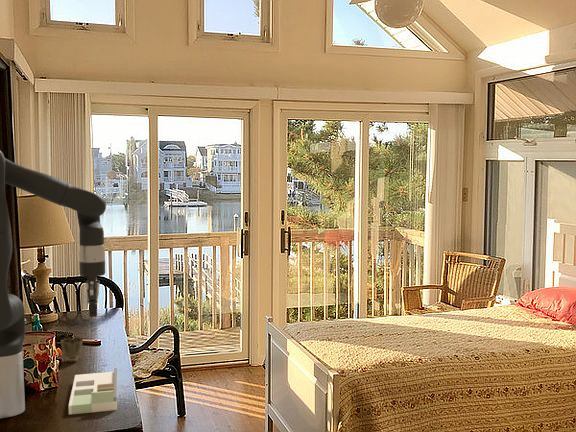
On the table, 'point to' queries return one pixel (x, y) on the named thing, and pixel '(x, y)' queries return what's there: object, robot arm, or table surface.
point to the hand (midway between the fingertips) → (93, 316)
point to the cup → (71, 348)
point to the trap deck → (93, 393)
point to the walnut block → (105, 387)
